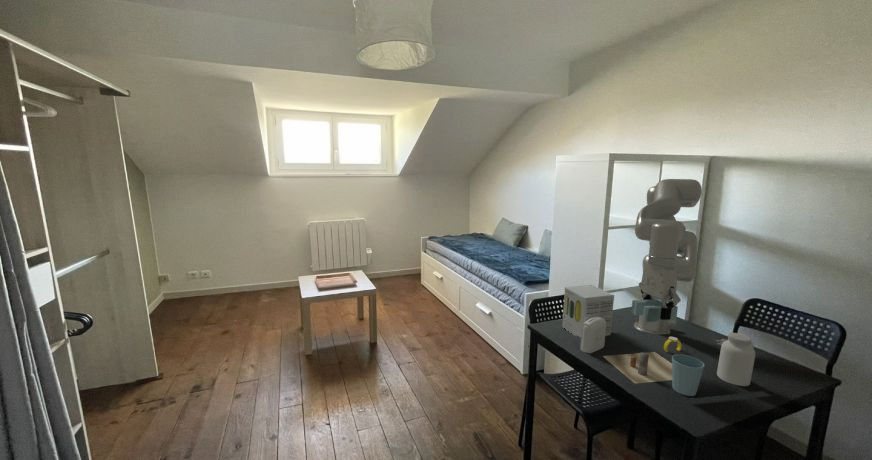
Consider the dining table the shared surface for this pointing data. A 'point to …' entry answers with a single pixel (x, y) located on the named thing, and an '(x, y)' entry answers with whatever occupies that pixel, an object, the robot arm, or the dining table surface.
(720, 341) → the power adapter
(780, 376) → the dining table surface
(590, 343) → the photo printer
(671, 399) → the dining table surface
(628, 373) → the board
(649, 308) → the u-shaped channel block
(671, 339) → the watch
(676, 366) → the cup
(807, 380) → the dining table surface
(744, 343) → the pill bottle
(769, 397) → the dining table surface
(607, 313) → the supplement box
